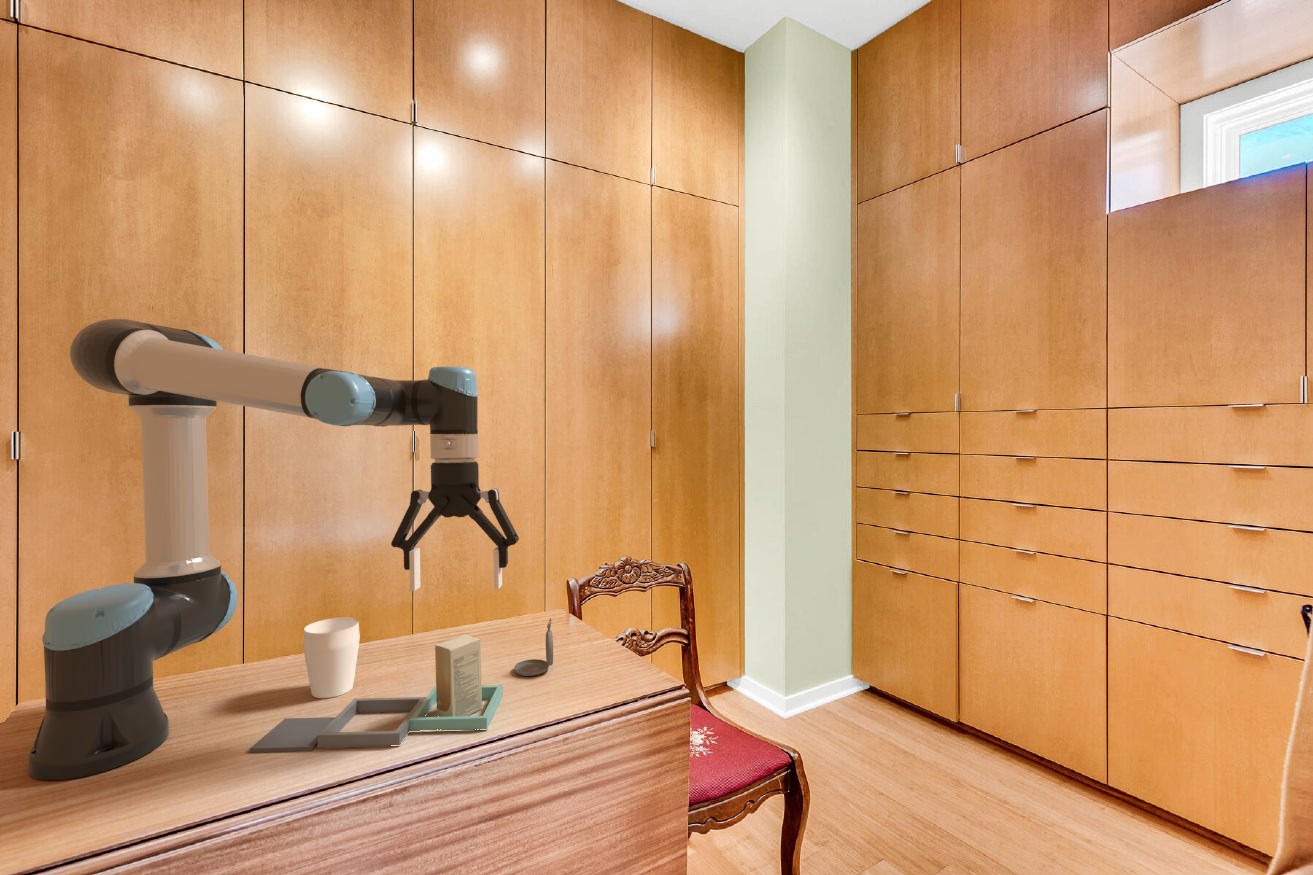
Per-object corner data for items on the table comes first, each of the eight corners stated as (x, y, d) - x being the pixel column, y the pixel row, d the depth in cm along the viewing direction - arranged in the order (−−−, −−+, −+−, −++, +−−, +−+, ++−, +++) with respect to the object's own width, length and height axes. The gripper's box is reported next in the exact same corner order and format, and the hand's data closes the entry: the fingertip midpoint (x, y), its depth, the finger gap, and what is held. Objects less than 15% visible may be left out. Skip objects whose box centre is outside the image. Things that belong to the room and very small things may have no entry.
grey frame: (317, 748, 88) (317, 735, 88) (354, 710, 100) (354, 698, 100) (399, 746, 89) (399, 733, 89) (426, 708, 101) (426, 696, 101)
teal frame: (409, 732, 93) (409, 719, 93) (434, 697, 105) (434, 686, 105) (486, 730, 94) (486, 717, 94) (502, 696, 106) (502, 684, 105)
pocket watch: (507, 671, 116) (507, 620, 116) (542, 658, 123) (542, 610, 122) (532, 683, 111) (531, 630, 111) (567, 669, 117) (567, 619, 117)
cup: (336, 704, 103) (335, 635, 102) (291, 699, 104) (290, 631, 104) (371, 682, 111) (370, 618, 111) (329, 678, 113) (328, 615, 113)
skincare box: (467, 702, 103) (466, 632, 103) (483, 709, 101) (482, 637, 100) (434, 717, 98) (433, 643, 98) (450, 724, 95) (449, 649, 95)
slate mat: (249, 752, 87) (249, 748, 87) (284, 722, 96) (284, 718, 96) (312, 750, 88) (312, 746, 88) (341, 720, 97) (341, 716, 97)
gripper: (368, 463, 94) (370, 596, 94) (526, 460, 95) (528, 592, 95) (387, 460, 101) (389, 583, 102) (534, 458, 103) (535, 580, 103)
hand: (456, 588), depth 99 cm, fingers open, 13 cm apart
